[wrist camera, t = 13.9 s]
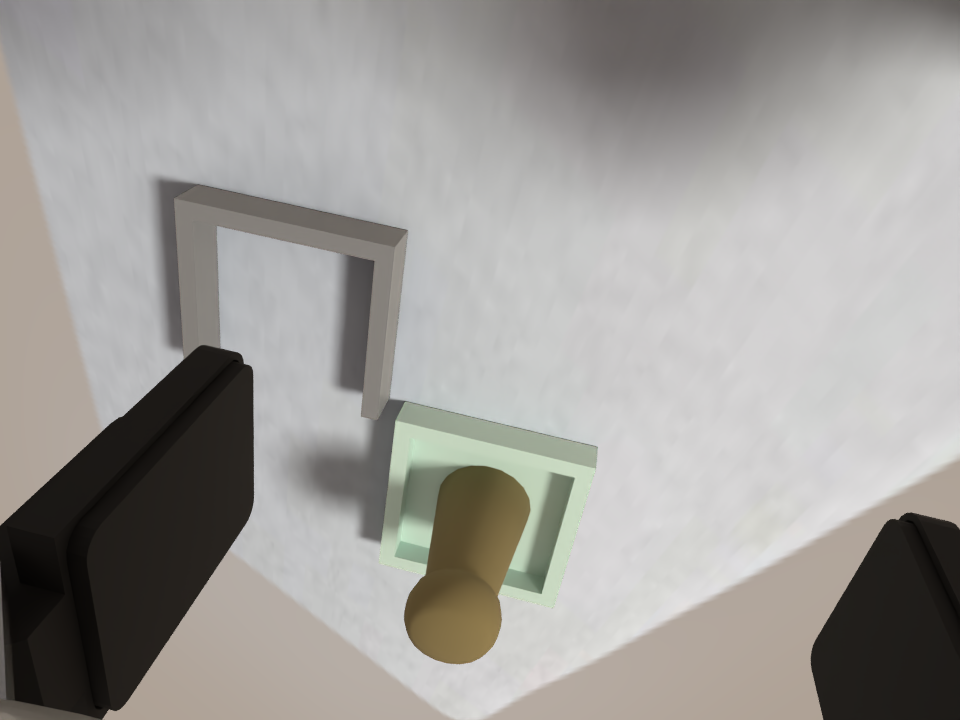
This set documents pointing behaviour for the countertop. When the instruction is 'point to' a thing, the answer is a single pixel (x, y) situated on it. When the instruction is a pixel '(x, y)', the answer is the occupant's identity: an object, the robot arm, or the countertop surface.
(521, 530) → the cork
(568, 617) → the countertop surface
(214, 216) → the frame
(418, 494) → the tray
